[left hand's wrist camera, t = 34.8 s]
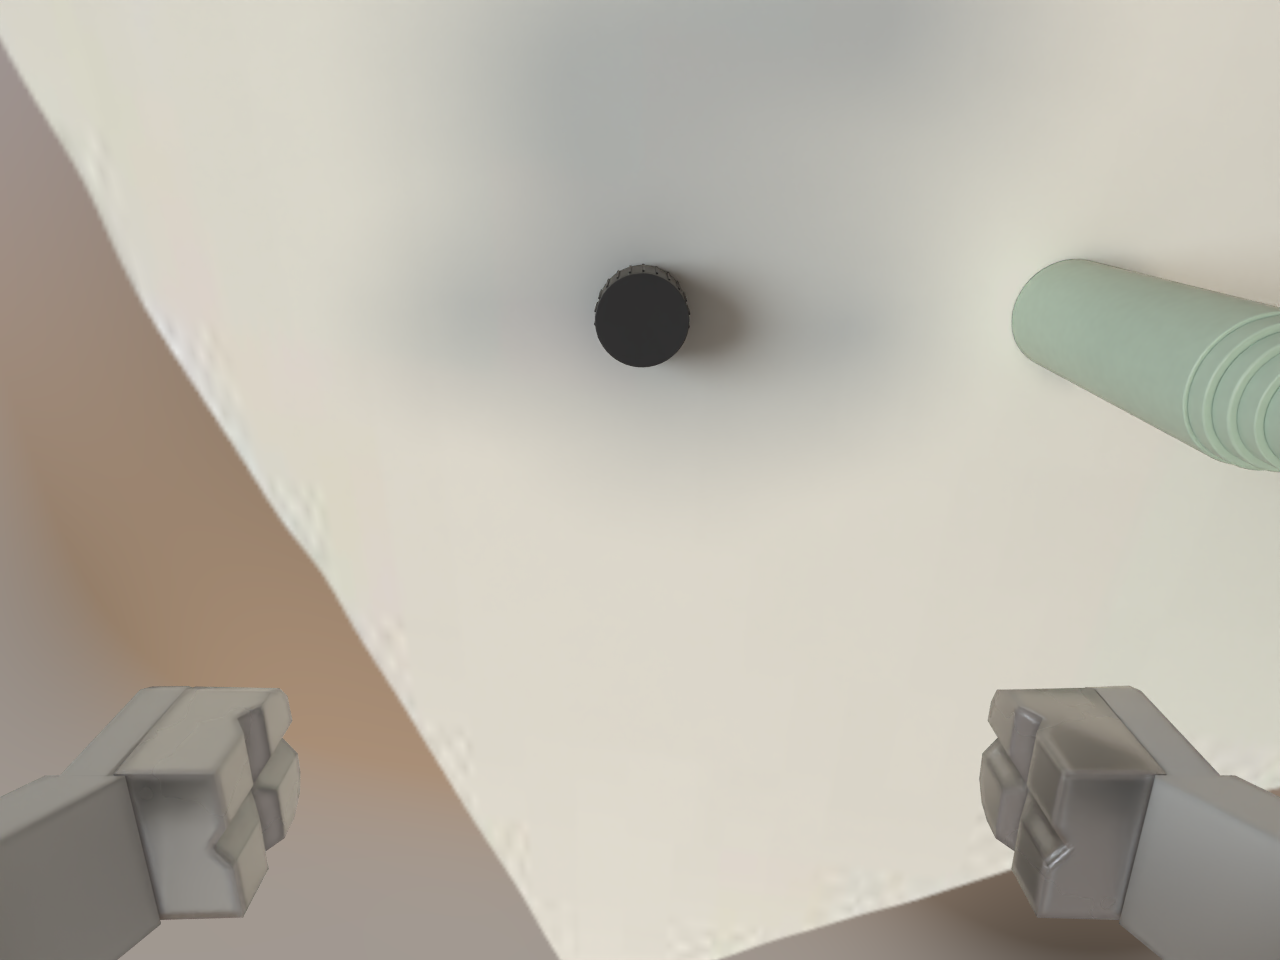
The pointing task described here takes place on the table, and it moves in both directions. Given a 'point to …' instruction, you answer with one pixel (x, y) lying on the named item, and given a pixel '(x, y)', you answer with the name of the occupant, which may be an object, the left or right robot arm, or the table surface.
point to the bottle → (1161, 354)
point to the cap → (642, 316)
